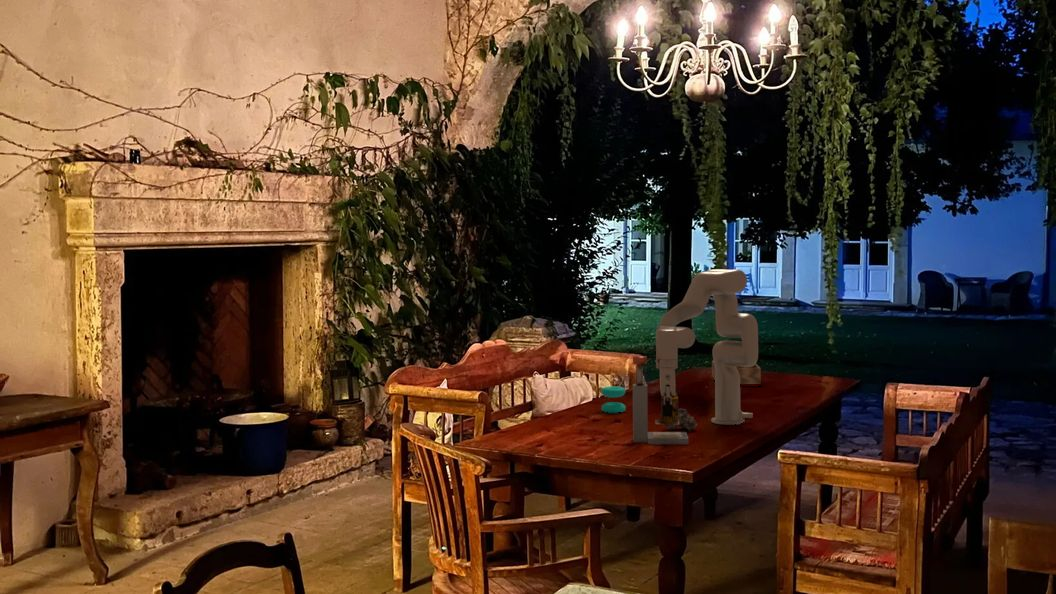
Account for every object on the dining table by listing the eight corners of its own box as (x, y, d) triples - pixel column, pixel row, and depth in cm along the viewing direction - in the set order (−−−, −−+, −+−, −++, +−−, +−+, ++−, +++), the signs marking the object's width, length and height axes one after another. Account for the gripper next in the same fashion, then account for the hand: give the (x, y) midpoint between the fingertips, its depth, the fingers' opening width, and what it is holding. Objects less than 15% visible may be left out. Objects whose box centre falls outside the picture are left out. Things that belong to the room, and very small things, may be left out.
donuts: (627, 386, 435) (623, 389, 426) (627, 410, 436) (623, 414, 426) (603, 385, 438) (599, 389, 428) (603, 409, 438) (599, 413, 429)
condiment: (679, 424, 367) (679, 390, 366) (655, 424, 368) (655, 390, 367) (678, 421, 374) (678, 387, 373) (654, 420, 375) (654, 387, 374)
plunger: (646, 391, 373) (646, 355, 372) (647, 394, 368) (647, 357, 367) (632, 391, 374) (632, 355, 373) (633, 394, 369) (632, 357, 368)
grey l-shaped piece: (686, 437, 377) (685, 382, 375) (688, 444, 365) (688, 387, 363) (633, 437, 378) (632, 382, 377) (633, 444, 366) (633, 387, 365)
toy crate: (752, 378, 522) (752, 360, 521) (760, 387, 493) (760, 368, 492) (711, 378, 523) (711, 360, 523) (717, 387, 495) (717, 368, 494)
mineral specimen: (655, 420, 391) (671, 398, 390) (665, 424, 399) (680, 403, 398) (680, 439, 384) (696, 416, 384) (689, 443, 392) (704, 421, 391)
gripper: (679, 366, 361) (679, 418, 362) (676, 360, 378) (676, 410, 379) (657, 367, 361) (657, 418, 362) (655, 360, 378) (655, 410, 379)
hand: (667, 414), depth 371 cm, fingers closed on condiment, 6 cm apart
